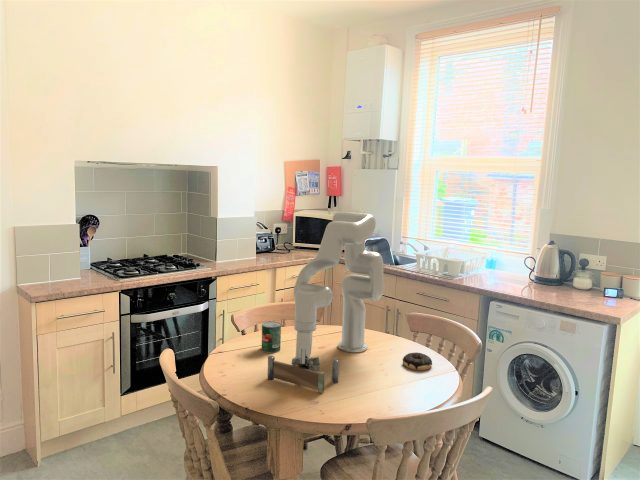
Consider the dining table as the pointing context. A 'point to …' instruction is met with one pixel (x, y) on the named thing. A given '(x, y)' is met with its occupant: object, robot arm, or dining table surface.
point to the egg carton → (311, 362)
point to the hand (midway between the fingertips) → (303, 374)
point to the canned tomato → (271, 336)
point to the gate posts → (334, 369)
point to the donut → (417, 361)
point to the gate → (299, 376)
